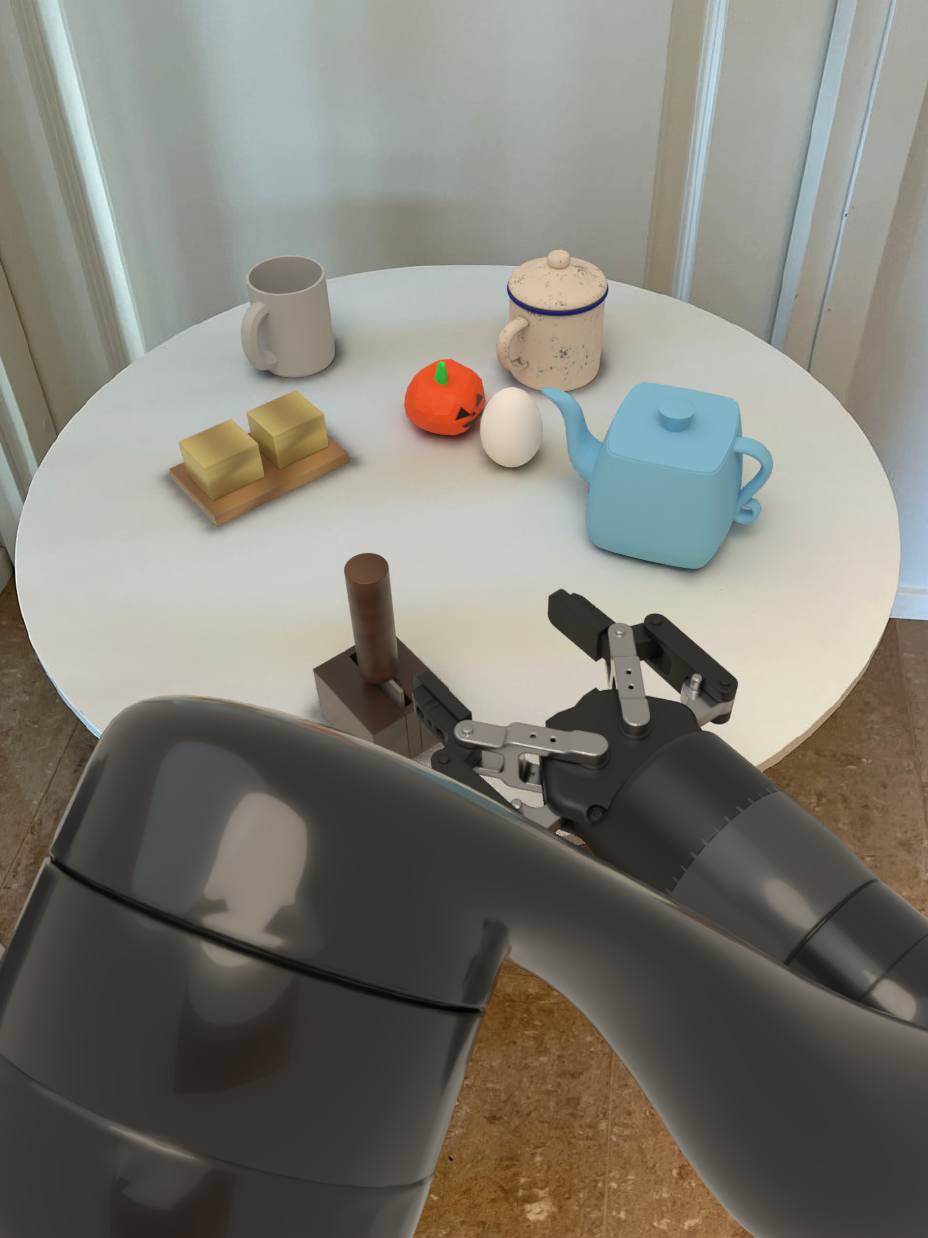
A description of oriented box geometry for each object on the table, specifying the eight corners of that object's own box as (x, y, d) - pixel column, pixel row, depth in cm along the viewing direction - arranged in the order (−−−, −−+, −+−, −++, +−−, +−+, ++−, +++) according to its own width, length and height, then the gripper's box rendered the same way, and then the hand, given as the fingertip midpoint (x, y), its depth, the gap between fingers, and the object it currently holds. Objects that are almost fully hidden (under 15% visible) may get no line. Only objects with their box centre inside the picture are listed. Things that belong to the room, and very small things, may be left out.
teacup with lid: (551, 330, 105) (555, 218, 97) (621, 366, 101) (632, 252, 92) (464, 381, 100) (461, 267, 91) (535, 421, 95) (538, 305, 87)
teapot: (559, 452, 92) (564, 336, 84) (767, 495, 88) (795, 377, 79) (513, 544, 84) (515, 426, 76) (740, 596, 80) (768, 478, 71)
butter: (217, 527, 86) (205, 483, 83) (172, 479, 91) (159, 435, 87) (349, 463, 92) (343, 419, 88) (300, 420, 96) (293, 377, 93)
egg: (468, 468, 91) (466, 396, 86) (501, 436, 94) (501, 365, 88) (521, 489, 89) (522, 417, 83) (553, 455, 92) (556, 384, 86)
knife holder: (379, 781, 69) (372, 735, 65) (321, 715, 73) (312, 668, 69) (452, 735, 71) (449, 688, 68) (392, 673, 75) (386, 626, 72)
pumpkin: (488, 397, 98) (488, 336, 93) (481, 450, 92) (480, 389, 88) (412, 394, 98) (408, 333, 94) (400, 447, 93) (395, 385, 88)
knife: (391, 758, 70) (372, 602, 59) (350, 712, 73) (324, 554, 62) (423, 738, 71) (409, 581, 60) (380, 693, 74) (360, 535, 63)
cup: (351, 353, 103) (341, 268, 97) (281, 403, 98) (266, 317, 92) (296, 330, 106) (283, 247, 100) (225, 378, 101) (207, 293, 94)
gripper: (864, 724, 44) (597, 524, 53) (614, 923, 38) (362, 661, 47) (824, 822, 49) (589, 626, 58) (601, 1009, 44) (377, 760, 53)
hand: (488, 642), depth 53 cm, fingers open, 8 cm apart
